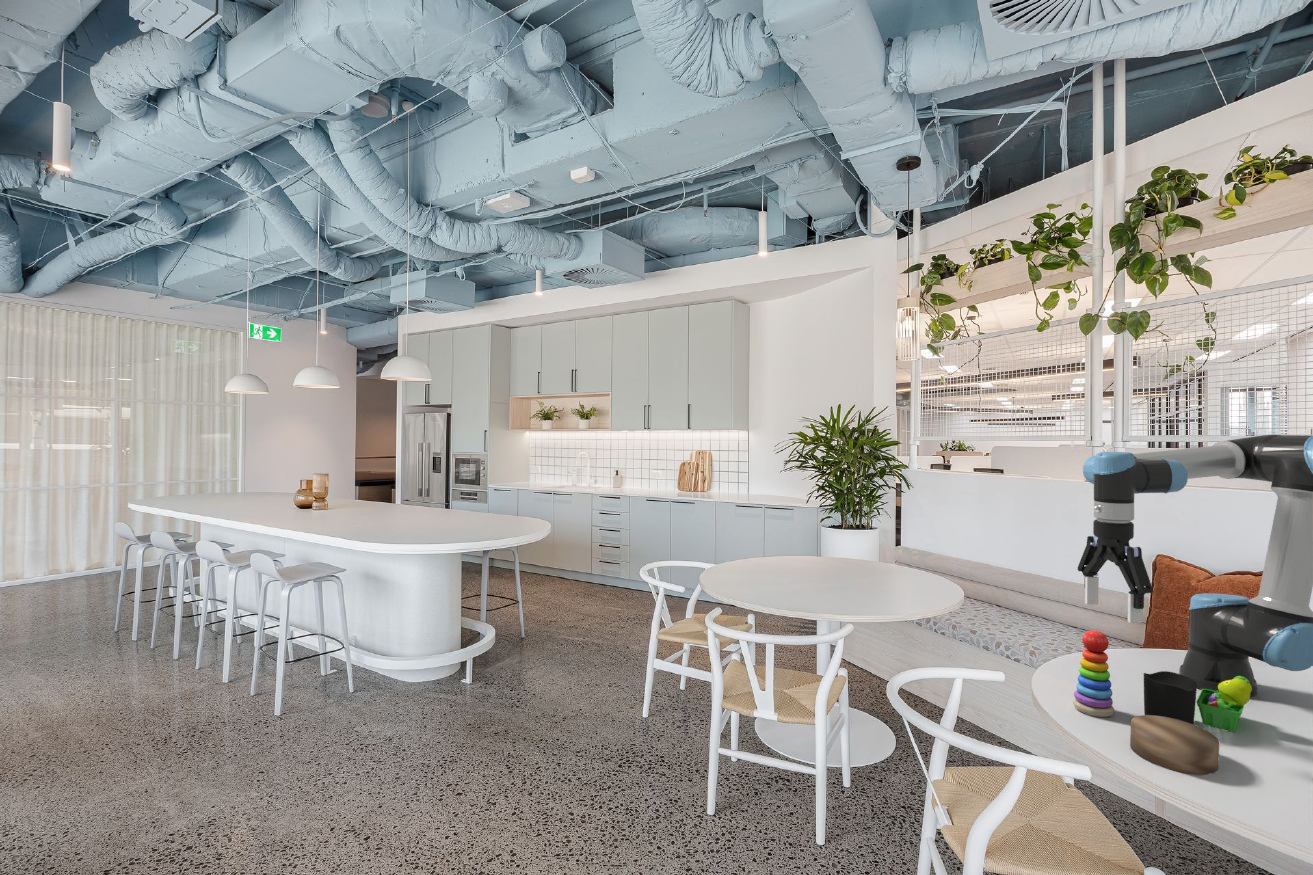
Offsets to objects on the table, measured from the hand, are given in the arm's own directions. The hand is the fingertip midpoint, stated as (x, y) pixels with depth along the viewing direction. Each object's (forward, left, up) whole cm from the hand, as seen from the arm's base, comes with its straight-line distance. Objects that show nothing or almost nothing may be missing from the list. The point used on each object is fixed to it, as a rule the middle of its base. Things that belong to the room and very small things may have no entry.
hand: (1112, 613), depth 149 cm
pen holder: (-11, +3, -24) cm, 27 cm away
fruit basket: (-23, +4, -24) cm, 34 cm away
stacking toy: (+2, -3, -24) cm, 24 cm away
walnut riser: (0, +17, -24) cm, 29 cm away
